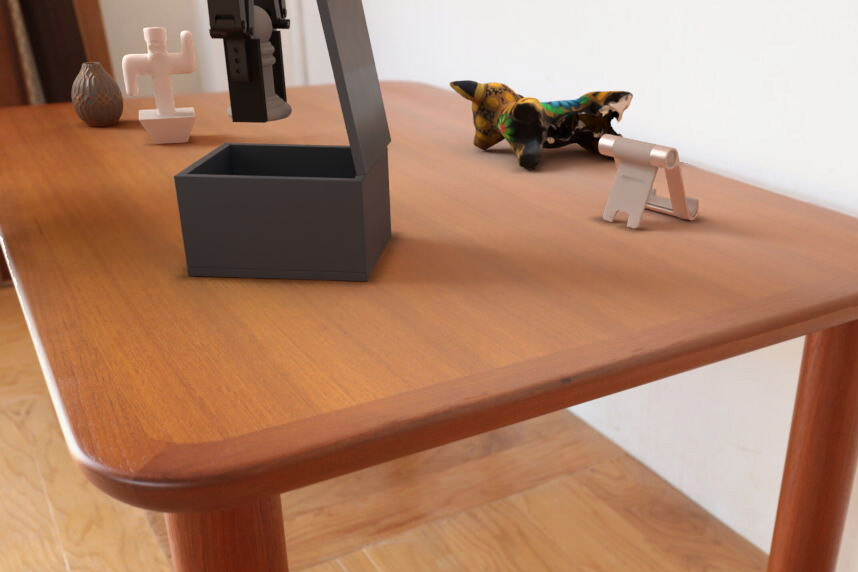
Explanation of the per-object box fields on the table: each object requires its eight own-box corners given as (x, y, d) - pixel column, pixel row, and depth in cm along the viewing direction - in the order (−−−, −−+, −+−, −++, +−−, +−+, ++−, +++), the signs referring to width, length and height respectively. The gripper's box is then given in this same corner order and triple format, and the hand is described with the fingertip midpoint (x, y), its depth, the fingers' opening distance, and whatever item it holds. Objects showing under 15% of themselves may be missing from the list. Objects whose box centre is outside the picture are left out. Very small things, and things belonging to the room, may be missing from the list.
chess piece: (302, 119, 76) (292, 6, 72) (240, 126, 73) (227, 9, 69) (278, 108, 80) (267, 0, 76) (219, 114, 77) (205, 3, 73)
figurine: (134, 136, 127) (116, 24, 120) (204, 132, 130) (190, 23, 123) (134, 147, 120) (114, 30, 114) (207, 143, 123) (192, 28, 117)
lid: (306, -40, 66) (429, -61, 65) (343, -45, 78) (447, -63, 77) (356, 176, 73) (468, 159, 72) (383, 142, 84) (480, 127, 83)
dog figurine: (625, 189, 120) (549, 151, 133) (651, 97, 116) (570, 67, 129) (505, 178, 109) (434, 138, 121) (529, 75, 104) (453, 45, 117)
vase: (102, 130, 130) (91, 67, 126) (66, 126, 132) (54, 64, 128) (136, 121, 136) (127, 61, 132) (101, 117, 138) (90, 58, 134)
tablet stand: (697, 219, 95) (706, 140, 91) (652, 234, 90) (659, 151, 86) (633, 202, 100) (639, 126, 97) (587, 215, 95) (591, 136, 92)
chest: (188, 276, 77) (173, 175, 74) (235, 231, 89) (224, 142, 85) (367, 281, 77) (361, 180, 73) (391, 235, 88) (387, 146, 84)
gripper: (238, -220, 58) (274, 138, 68) (308, -187, 75) (329, 97, 85) (125, -221, 58) (176, 136, 68) (220, -188, 75) (250, 95, 85)
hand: (261, 114), depth 76 cm, fingers closed on chess piece, 5 cm apart
